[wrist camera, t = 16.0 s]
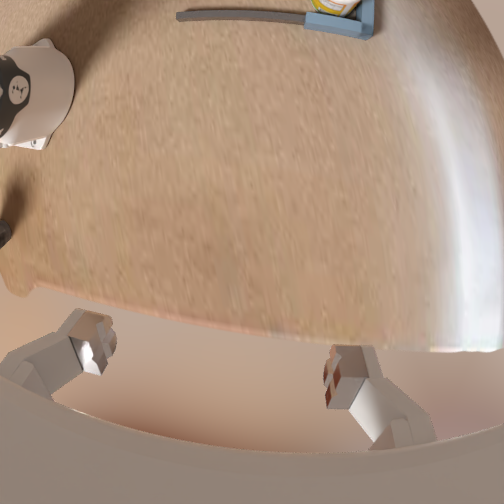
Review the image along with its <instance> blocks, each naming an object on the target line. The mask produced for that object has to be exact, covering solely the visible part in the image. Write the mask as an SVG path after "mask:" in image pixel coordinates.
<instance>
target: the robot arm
mask: <svg viewBox="0 0 504 504" xmlns="http://www.w3.org/2000/svg"><path fill="white" fill-rule="evenodd" d="M73 93H74V73H73V69H72V66H71V63H70V61H69V60H68V58H67V57H66V56H65V55H64V54H63V53H61V52H60V51H58V50H57V49H55V47H54V45H53V43H52V41H51V40H50V39H49V38H44V39H41V40H40V41H38V42H36V43H35V44H33V45H32V46H15V47H12V48H11V50H9V51H7V52H6V53H5V54H4V55H0V148H2V147H3V148H7V147H10V146H13V145H15V146H20V147H26V148H31V149H37V150H41V149H44V148H45V147H46V146H47V144H48V142H49V139H50V137H51V134H52V133H53V132H54V130H55V129H56V128H57V127H58V126H59V125H60V124H61V122H62V121H63V120H64V118H65V116H66V114H67V112H68V110H69V108H70V105H71V102H72V98H73ZM112 325H113V322H112V318H111V317H110V316H108V315H104V314H100V313H96V312H92V311H87V310H83V309H80V308H77V309H75V310H74V311H73V312H72V313H71V314H70V316H69V317H68V318H67V319H66V321H65V322H64V323H63V324H62V326H61V327H60V328H59V329H58V331H57V332H56V333H55V332H52V333H50V334H48V335H45V336H43V337H41V338H39V339H37V340H35V341H32V342H30V343H28V344H26V345H24V346H22V347H20V348H17V349H15V350H13V351H11V352H9V353H8V354H7V355H6V357H5V358H4V359H3V361H2V362H1V363H0V504H504V424H501V425H498V426H495V427H491V428H488V429H484V430H481V431H478V432H474V433H470V434H466V435H462V436H458V437H454V438H449V439H445V440H441V441H437V437H436V434H435V431H434V428H433V425H432V421H431V418H430V416H429V414H428V413H427V412H426V411H425V410H424V409H422V408H421V407H420V406H419V405H418V404H417V403H416V402H414V401H413V400H412V399H411V398H410V397H408V395H406V394H405V393H404V392H403V391H402V390H401V389H400V388H398V387H397V386H396V385H395V384H394V383H393V382H392V381H390V380H389V379H388V378H384V377H383V374H382V370H381V367H380V364H379V361H378V358H377V355H376V352H375V349H374V347H373V346H372V345H338V344H333V345H332V347H331V349H330V352H329V353H330V358H329V359H328V360H327V361H326V364H325V367H324V373H323V380H324V385H325V386H326V387H327V391H326V393H325V399H326V407H327V409H349V411H350V412H351V414H352V415H353V416H354V418H355V419H356V420H357V421H358V423H359V424H360V425H361V427H362V428H363V429H364V430H365V432H366V433H367V434H368V436H369V437H370V438H371V439H372V441H373V442H374V444H373V445H372V446H371V447H370V448H369V449H368V451H360V452H344V453H343V452H342V453H284V452H267V451H254V450H244V449H234V448H226V447H219V446H212V445H205V444H200V443H193V442H188V441H183V440H178V439H173V438H168V437H164V436H159V435H155V434H151V433H147V432H143V431H139V430H136V429H132V428H128V427H125V426H121V425H118V424H115V423H111V422H108V421H105V420H102V419H99V418H96V417H93V416H90V415H88V414H85V413H82V412H79V411H76V410H74V409H72V408H69V407H66V406H64V405H61V404H59V403H57V402H55V401H54V400H53V398H52V396H51V394H52V393H54V392H55V391H57V390H58V389H59V388H61V387H62V386H64V385H65V384H66V383H68V382H69V381H70V380H72V379H74V378H75V377H77V376H78V375H79V374H81V373H82V372H83V371H86V372H89V373H93V374H96V375H100V376H101V375H102V373H103V372H104V370H105V368H106V366H107V364H108V362H107V358H109V357H111V356H112V355H113V353H114V352H115V349H116V344H117V337H116V334H115V332H114V331H113V329H112V328H111V326H112Z"/></svg>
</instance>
